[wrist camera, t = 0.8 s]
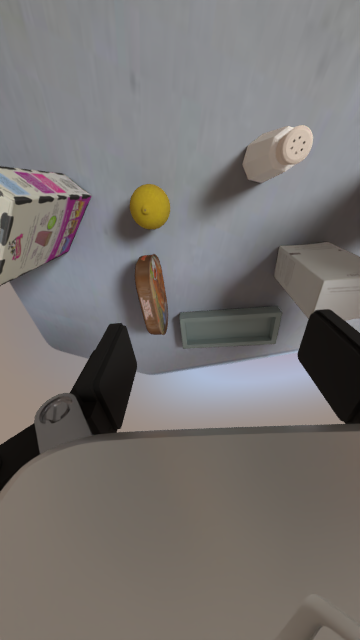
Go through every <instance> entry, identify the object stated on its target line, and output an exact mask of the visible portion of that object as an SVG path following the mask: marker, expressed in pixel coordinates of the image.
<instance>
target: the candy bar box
mask: <svg viewBox="0 0 360 640" xmlns="http://www.w3.org/2000/svg"><path fill="white" fill-rule="evenodd" d="M90 198H91V195H90V194H89V193H88V192H86V191H85V190H84V189H82V188H81V187H79V186H78V185H77V184H76V183H74V182H73V181H72V180H71V179H70V178H68V177H67V176H65V175H64V174H62V173H53V172H44V171H35V170H27V169H19V168H10V167H1V166H0V286H1V285H3V284H5V283H6V282H9V281H11V280H13V279H15V278H17V277H19V276H21V275H23V274H25V273H27V272H29V271H31V270H33V269H35V268H37V267H39V266H41V265H43V264H45V263H47V262H49V261H51V260H53V259H55V258H57V257H59V256H61V255H63V254H65V253H67V252H68V251H69V249H70V246H71V244H72V241H73V239H74V236H75V234H76V232H77V229H78V227H79V224H80V222H81V220H82V217H83V215H84V213H85V210H86V208H87V205H88V203H89V201H90Z"/></svg>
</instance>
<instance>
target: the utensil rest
mask: <svg viewBox="0 0 360 640" xmlns="http://www.w3.org/2000/svg"><path fill="white" fill-rule="evenodd" d="M281 316H282V311H281V310H280V309H279V307H278V306H269V307H255V308H240V309H225V310H211V311H196V312H181V313H180V326H181V334H182V342H183V349H187V348H206V347H226V346H245V345H264V344H276V339H277V335H278V330H279V325H280V321H281Z"/></svg>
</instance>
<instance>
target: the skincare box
mask: <svg viewBox="0 0 360 640" xmlns="http://www.w3.org/2000/svg"><path fill="white" fill-rule="evenodd" d="M274 277H275V278H276V280H277V281H278V282H279V283H280V284H281V286H282V287H283V288H284V289H285V291H286V292H287V293H288V294H289V295H290V297H291V298H292V299H293V300H294V302H295V303H296V304H297V305H298V306H299V308H300V309H301V310H302V311H303V313H304V314H305V315H306V316H307V318H308V319H309V317H310V315H311V314H312V313H313V312H314V311H315V310H323V309H330V310H332V311H333V312H334V313H336V314H337V315H338V316H339V317H341V318H342V319H343V320H350V319H354V318H360V257H359V256H357V255H355V254H353V253H350V252H348V251H346V250H344V249H342V248H340V247H338V246H335V245H333V244H331V243H329V242H323V243H316V244H307V245H291V246H280V247H279V251H278V257H277V262H276V268H275V273H274Z"/></svg>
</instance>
